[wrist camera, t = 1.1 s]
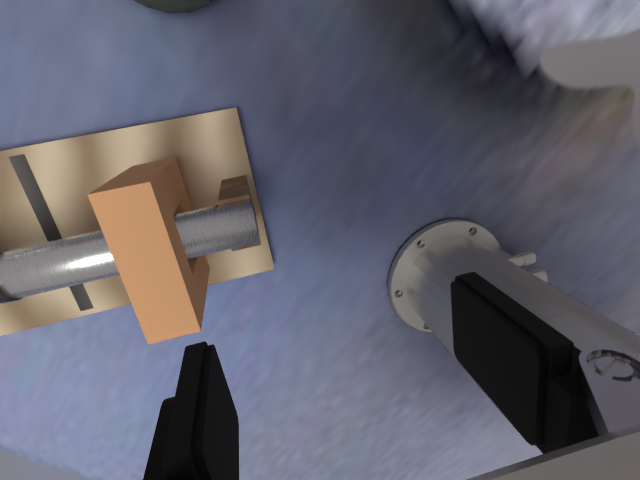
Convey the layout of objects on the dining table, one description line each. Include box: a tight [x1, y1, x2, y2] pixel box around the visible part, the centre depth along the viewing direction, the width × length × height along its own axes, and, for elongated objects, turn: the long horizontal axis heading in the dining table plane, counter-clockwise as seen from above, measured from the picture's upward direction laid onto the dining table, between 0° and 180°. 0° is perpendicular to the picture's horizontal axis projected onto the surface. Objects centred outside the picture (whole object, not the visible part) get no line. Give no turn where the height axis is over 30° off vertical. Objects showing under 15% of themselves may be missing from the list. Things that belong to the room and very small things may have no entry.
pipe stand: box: [0, 107, 275, 336], centre depth 28 cm, size 24×14×8 cm, turn 100°
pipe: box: [0, 199, 260, 304], centre depth 24 cm, size 23×3×3 cm, turn 100°
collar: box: [87, 157, 210, 344], centre depth 25 cm, size 3×9×9 cm, turn 10°
